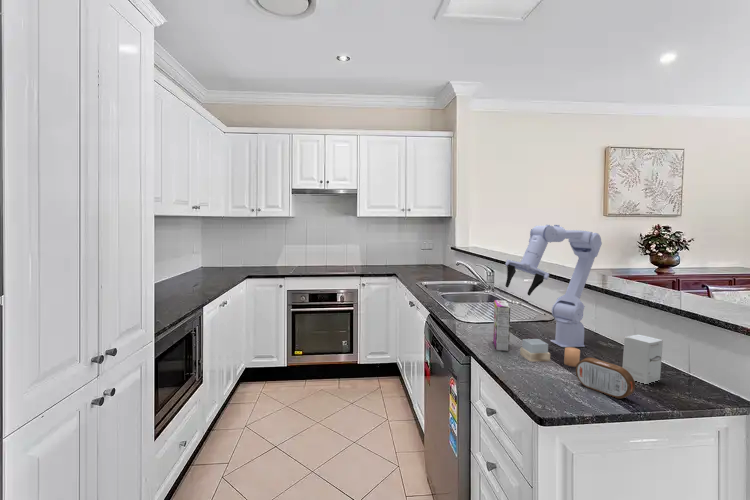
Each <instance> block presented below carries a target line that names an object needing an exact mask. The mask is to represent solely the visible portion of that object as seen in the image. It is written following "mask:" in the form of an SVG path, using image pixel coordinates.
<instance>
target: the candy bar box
mask: <svg viewBox="0 0 750 500" xmlns="http://www.w3.org/2000/svg"><path fill="white" fill-rule="evenodd" d="M510 327H511V306H510V304H509V302H508V301H507V300H502V299H501V300H500V299H495V300H493V333H492V334H493V335H492V336H493V337H492V338H493V339H492V342H493V345H494V349H495V351H498V352H500V351H501V352H509V351H510V334H511V333H510V332H511V328H510Z"/></svg>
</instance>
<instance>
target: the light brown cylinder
mask: <svg viewBox="0 0 750 500" xmlns="http://www.w3.org/2000/svg"><path fill="white" fill-rule="evenodd" d="M563 355H564V356H563V357H564V359H563V364H564V365H566V366H569V367H575V368H576V365H577V364H578V362H580V361H581V360H580V357H581V350H580V349H579V348H578V347H564V354H563Z"/></svg>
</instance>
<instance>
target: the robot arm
mask: <svg viewBox="0 0 750 500" xmlns="http://www.w3.org/2000/svg"><path fill="white" fill-rule="evenodd" d="M565 239H568V240H567V241H568V244H569V245H570V247H571V250H572V251H573V254H574V255H575V256H576V257H578V259H577V262H576V265H575V268H574V270H573V273H572V275H571V278H570V280H569V283H568V285H567V288H566V291H565V293H564V294H563V295H561V296H559V297H557V299H556V301H555V302H554V303H553V305H552V307H551V316H552V317H553V318H554V320H555V322H556V323H555V339H550V342H551V343H553V344H556V346H559V347H561V348H566V347H573V348H582V347H583V348H585V347H586V345H585V343H584V342H585V326H584V324H583V323H582V322H581V321H582V320H583V318H584V310H585V307H586V306H585V303H583V301H582V300H581V296H582V294H583V291H584V288H585V286H586V283H587V281H588V277H589V276H590V272H591V270H592V267H593V264H594V262H595V258H597V257H598V255H599V252H600V249H601V247H602V244H603V242H602V238H601V236H600V234H599V233H598V232H593V231H588V230H583V229H582V230H580V229H578V230H577V229H576V230H575V229H565V228H564V227H562V226H560V224H554V225H550V224H545V225H535V226H534V227H532V229H531V228H530V231H529V240H528V245H527V246H526V248H525V251H524V254H523V256H522V258H521V261H515V260H511V259H508V258H507V260H506V262H505V266H506V269H507V273H506V274H507V276H506V281H505V288H509V287H510V284H511V281H512V279H513V278H514V275H515V274H516V272H517V271H520V272H521V271H522V272H524V273H528V274H530V275H532V276H533V280H532V283H531V285H530V287H529V289H528V291H527V296H531V295H532V293H533V291H535V290H536V288H538V286H540V285H541V284H543V282H544V280H545V281H548V279H549V277H550V273H549V272H547V271H544V270H543V269H540V268H538V266H539V265H540V262H541V261H542V257H543V255H544V253H545V251H546V249H547V246H548V244H549V243H561V242H563V241H564V240H565ZM516 270H517V271H516Z"/></svg>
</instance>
